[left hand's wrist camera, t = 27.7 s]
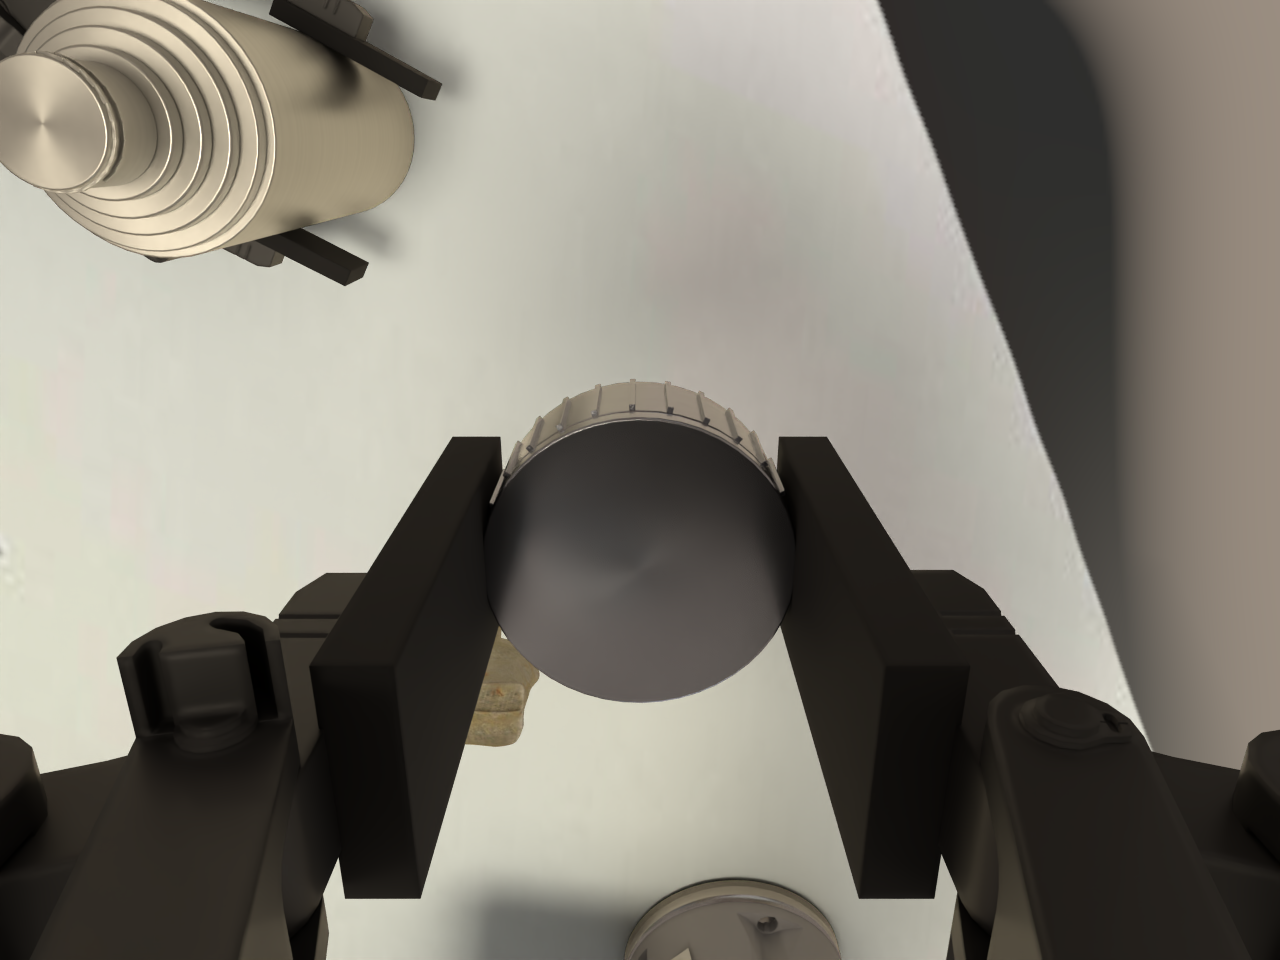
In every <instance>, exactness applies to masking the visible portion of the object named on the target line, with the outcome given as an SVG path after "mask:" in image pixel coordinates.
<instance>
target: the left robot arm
mask: <svg viewBox="0 0 1280 960" xmlns="http://www.w3.org/2000/svg"><path fill="white" fill-rule="evenodd" d="M777 472H778V474H779V477H780V479H781V482H782V484H783V487H784V489H785V491H786V494H787V495H785V496H783V498H784V500H785V503H786V505H787V508H788V510H789V513H790V516H791V519H792V522H793V525H794V529H795V534H796V554H795V568H794V582H793V595H792V601H791V604H790V606H789V608H788V611H787V613H786V615H785V618H784V620H783V621H782V623H781V625H780V626H781V630H782V633H783V637H784V640H785V644H786V647H787V651H788V654H789V657H790V661H791V664H792V668H793V671H794V675H795V678H796V682H797V685H798V689H799V692H800V696H801V699H802V703H803V706H804V710H805V713H806V716H807V720H808V723H809V727H810V730H811V734H812V737H813V741H814V744H815V748H816V751H817V755H818V758H819V762H820V765H821V769H822V772H823V775H824V779H825V782H826V786H827V789H828V793H829V796H830V800H831V803H832V807H833V810H834V814H835V817H836V821H837V824H838V828H839V831H840V834H841V838H842V841H843V845H844V848H845V852H846V855H847V859H848V862H849V866H850V869H851V873H852V876H853V880H854V883H855V887H856V890H857V894H858V897H859V899H934V897H935V891H936V885H937V878H938V872H939V865H940V859H941V854H942V856H943V859H944V861H945V863H946V866H947V868H948V871H949V873H950V875H951V878H952V880H953V882H954V885H955V887H956V890H957V898H956V904H955V910H954V916H953V922H952V928H951V934H950V940H949V946H948V952H947V958H946V960H1280V730H1276V731H1270V732H1263V733H1261V734H1259V735H1258V736H1257V737H1256V738H1254V739H1253V740H1252V741H1251V742H1249V743H1248V746H1247V750H1246V753H1245V756H1244V760H1243V763H1242V766H1241V770H1237V769H1232V768H1227V767H1221V766H1216V765H1211V764H1206V763H1201V762H1196V761H1191V760H1186V759H1181V758H1175V757H1171V756H1167V755H1163V754H1160V753H1156V752H1152V751H1151V750H1150V748H1149V746H1148V744H1147V742H1146V740H1145V738H1144V736H1143V735H1142V733H1141V732H1140V731H1139V730H1138V728H1137V727H1136V726H1135V725H1134V723H1133V722H1132V721H1131V720H1130V719H1129V718H1128V717H1126V716H1125V715H1123V714H1122V713H1120V712H1119V711H1117V710H1116V709H1114V708H1113V707H1111V706H1110V705H1109V704H1107V703H1105V702H1102V701H1100V700H1097V699H1095V698H1092V697H1090V696H1088V695H1085V694H1083V693H1080V692H1077V691H1072V690H1068V689H1063V688H1059V687H1058V685H1057V684H1056V683H1055V681H1054V680H1053V679H1052V677H1051V676H1050V675H1049V674H1048V672H1047V671H1046V670H1045V668H1044V667H1043V666H1042V664H1041V663H1040V662H1039V660H1038V659H1037V658H1036V657H1035V655H1034V654H1033V653H1032V651H1031V650H1030V649H1029V647H1028V646H1027V645H1026V643H1025V642H1024V641H1023V639H1022V638H1021V637H1020V636H1019V635H1015V629H1014V628H1013V626H1012V625H1011V624H1010V622H1009V621H1008V620H1007V619H1006V617H1005V616H1001V611H1000V609H999V608H998V607H997V605H996V604H995V603H994V602H993V600H992V599H991V598H990V596H989V595H988V594H987V592H986V591H985V590H984V589H983V588H981V587H980V586H978V585H977V584H975V583H973V582H972V581H970V580H969V579H967V578H965V577H964V576H962V575H960V574H959V573H957V572H956V571H954V570H910V569H909V567H908V566H907V564H906V562H905V561H904V559H903V558H902V556H901V554H900V553H899V551H898V550H897V548H896V546H895V545H894V543H893V542H892V540H891V538H890V537H889V535H888V534H887V532H886V530H885V529H884V527H883V526H882V524H881V523H880V521H879V519H878V518H877V516H876V515H875V513H874V511H873V510H872V508H871V507H870V505H869V503H868V502H867V500H866V499H865V497H864V495H863V494H862V492H861V491H860V489H859V487H858V486H857V484H856V483H855V481H854V479H853V478H852V476H851V475H850V473H849V471H848V470H847V468H846V467H845V465H844V464H843V462H842V460H841V459H840V457H839V456H838V454H837V452H836V451H835V449H834V448H833V446H832V444H831V443H830V441H829V440H828V438H827V437H779V445H778V462H777ZM501 473H502V455H501V438H500V437H452V439H451V440H450V442H449V443H448V445H447V447H446V448H445V450H444V451H443V453H442V455H441V456H440V458H439V459H438V461H437V463H436V464H435V466H434V467H433V469H432V471H431V472H430V474H429V475H428V477H427V478H426V480H425V482H424V483H423V485H422V486H421V488H420V490H419V491H418V493H417V494H416V496H415V498H414V499H413V501H412V502H411V504H410V506H409V507H408V509H407V510H406V512H405V514H404V515H403V517H402V518H401V520H400V522H399V523H398V525H397V526H396V528H395V529H394V531H393V533H392V534H391V536H390V537H389V539H388V541H387V542H386V544H385V545H384V547H383V549H382V550H381V552H380V553H379V555H378V557H377V558H376V560H375V561H374V563H373V565H372V566H371V568H370V569H369V571H368V573H326V574H324V575H322V576H321V577H319V578H318V579H316V580H314V581H313V582H311V583H310V584H308V585H306V586H305V587H303V588H302V589H300V590H298V591H297V592H296V593H295V594H294V595H293V597H292V598H291V599H290V600H289V602H288V603H287V604H286V606H285V607H284V608H283V610H282V611H281V612H280V614H279V619H275V620H274V622H272V621H271V620H269V619H268V618H267V617H265V616H261V615H256V614H252V613H248V612H213V613H207V614H202V615H197V616H191V617H186V618H183V619H180V620H177V621H174V622H171V623H169V624H166V625H163V626H160V627H157V628H155V629H153V630H152V631H150V632H148V633H146V634H145V635H143V636H141V637H139V638H138V639H136V640H134V641H132V642H131V643H130V644H129V645H128V646H127V647H126V648H125V649H124V651H123V652H122V653H121V654H120V655H119V656H118V657H117V662H118V666H119V670H120V674H121V678H122V682H123V686H124V690H125V695H126V699H127V703H128V707H129V711H130V715H131V719H132V723H133V727H134V731H135V735H136V739H135V741H134V743H133V745H132V747H131V749H130V752H129V754H128V756H124V757H120V758H116V759H112V760H109V761H104V762H99V763H94V764H89V765H84V766H79V767H74V768H69V769H63V770H58V771H53V772H48V773H43V774H40V772H39V769H38V766H37V762H36V759H35V756H34V752H33V749H32V747H31V746H30V745H28V744H27V743H26V742H25V741H23V740H22V739H21V738H20V737H16V736H10V735H3V734H0V960H326V954H327V945H328V937H329V930H328V923H327V916H326V910H325V904H324V898H323V893H324V890H325V888H326V886H327V883H328V881H329V878H330V876H331V874H332V871H333V869H334V867H335V864H336V862H337V859H338V857H339V863H340V869H341V876H342V882H343V888H344V895H345V899H420V898H421V895H422V891H423V888H424V884H425V881H426V878H427V874H428V871H429V867H430V864H431V860H432V857H433V853H434V850H435V846H436V843H437V839H438V836H439V832H440V829H441V825H442V822H443V819H444V815H445V812H446V808H447V805H448V801H449V798H450V794H451V791H452V787H453V784H454V780H455V777H456V773H457V770H458V767H459V763H460V760H461V756H462V753H463V749H464V746H465V742H466V739H467V735H468V732H469V728H470V725H471V721H472V718H473V714H474V711H475V708H476V704H477V701H478V697H479V694H480V690H481V687H482V683H483V680H484V676H485V673H486V669H487V666H488V662H489V659H490V655H491V652H492V649H493V645H494V642H495V638H496V635H497V631H498V628H499V625H498V623H497V621H496V619H495V617H494V615H493V613H492V610H491V608H490V606H489V603H488V599H487V591H486V577H485V562H484V547H483V533H484V530H485V526H486V523H487V519H488V516H489V513H490V511H491V508H488V504H489V502H490V499H491V497H492V494H493V492H494V490H495V487H496V485H497V482H498V480H499V478H500V475H501ZM624 960H842V959H841V955H840V951H839V947H838V943H837V939H836V937H835V934H834V931H833V930H832V928H831V926H830V924H829V923H828V921H827V920H826V918H825V917H824V916H823V915H822V914H821V912H820V911H819V910H817V909H816V908H815V907H814V906H813V905H812V904H811V903H809V902H808V901H806V900H805V899H803V898H802V897H800V896H798V895H797V894H795V893H792V892H790V891H788V890H786V889H783V888H780V887H778V886H774V885H771V884H767V883H761V882H756V881H747V880H724V881H716V882H710V883H704V884H700V885H697V886H693V887H690V888H687V889H685V890H682V891H680V892H678V893H675V894H673V895H671V896H670V897H668V898H666V899H664V900H663V901H661V902H660V903H658V904H657V905H656V906H654V907H653V908H652V909H651V910H650V911H648V912H647V913H646V915H645V916H644V917H643V918H642V919H641V920H640V921H639V923H638V924H637V925H636V927H635V928H634V930H633V932H632V934H631V936H630V938H629V940H628V943H627V946H626V950H625V957H624Z"/></svg>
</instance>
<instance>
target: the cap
mask: <svg viewBox="0 0 1280 960" xmlns="http://www.w3.org/2000/svg"><path fill="white" fill-rule="evenodd" d="M785 495H787V494H786V491H785V489H784V487H783V484H782V482H781V479H780V477H779V474H778V472H777V470H776V467H775V465H774V462H773V460H772V458H769V459H767V457H766V455H765V453H764V451H763V449H762V446H761V444H760V441H759V439H758V436H757V434H756V433H755V431H752V432H750V431H749V430H748V429H747V428H746V427H745V426H744V425H743V423H742V422H741V421H740V420H738V419H737V418H736V417H735V415H734V412H733V410H732V409H730V408H728V409H727V410H726V409H725V408H723V407H722V406H720V405H719V404H717V403H715V402H714V401H712V400H711V399H708V398H706V397H705V396H704V393H703V392H701V391H699V392H698V393H695V392H693V391H690V390H687V389H684V388H680V387H677V386H673V385H671V382H668V381H665V384H662V383H654V382H636V379H630V382H627V383H617V384H612V385H607V386H602V387H601V384H598V385H595V389H592V390H590V391H587V392H584V393H581V394H579V395H577V396H575V397H573V398H571V399H569V397H566V398H564V399H563V402H562V404H561V405H559V406H558V407H556V408H555V409H553V410H552V411H550V412H549V413H548V414H547V415H545V416H544V417H543V418H542V417H541V416H539V417H538V418H537V419H536V421H535V424H534V426H533V428H532V429H531V430H530V432H529V433H528V434H527V435H526V436H525V437H524V439H523V440H522V442H520V441H517V443H516V444H515V446H514V449H513V451H512V454H511V456H510V459H509V461H508V463H507V466H506V468H505V469H503V470H502V473H501V475H500V478H499V480H498V482H497V485H496V487H495V490H494V492H493V494H492V497H491V499H490V502H489V504H488V508H491V511H490V513H489V516H488V519H487V523H486V526H485V530H484V533H483V547H484V562H485V577H486V591H487V599H488V603H489V606H490V608H491V610H492V613H493V615H494V617H495V619H496V621H497V623H498V625H499V626H500V628H501V630H502V631H503V633H504V634H505V636H506V637H507V639H508V640H509V641H510V643H511V644H512V645H513V646H514V647H515V648H516V650H517V651H518V652H519V653H520V654H521V655H522V656H523V657H524V658H525V659H526V660H527V661H529V662H530V663H531V664H532V665H533V666H534V667H535V668H537V669H538V670H540V671H541V672H542V673H544V674H545V675H547V676H548V677H550V678H551V679H553V680H555V681H557V682H559V683H561V684H562V685H564V686H566V687H568V688H571V689H573V690H576V691H578V692H581V693H584V694H587V695H590V696H594V697H598V698H601V699H606V700H613V701H619V702H635V703H646V702H661V701H667V700H672V699H678V698H682V697H685V696H689V695H692V694H695V693H699V692H701V691H703V690H706V689H708V688H710V687H713V686H715V685H717V684H719V683H721V682H722V681H724V680H726V679H728V678H729V677H731V676H733V675H734V674H735V673H737V672H738V671H739V670H741V669H742V668H744V667H745V666H746V665H748V664H749V663H750V662H751V661H752V660H753V659H754V658H755V657H756V656H757V655H758V654H759V653H760V652H761V651H762V650H763V649H764V648H765V646H766V645H767V644H768V643H769V641H770V640H771V639H772V638H773V636H774V635H775V633H776V631H777V630H778V628H779V626H780V625H781V623H782V621H783V620H784V618H785V615H786V613H787V611H788V608H789V606H790V604H791V601H792V595H793V582H794V568H795V554H796V534H795V529H794V525H793V522H792V519H791V516H790V513H789V510H788V508H787V505H786V503H785V500H784V498H783V496H785Z"/></svg>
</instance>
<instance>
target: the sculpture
mask: <svg viewBox="0 0 1280 960" xmlns="http://www.w3.org/2000/svg"><path fill="white" fill-rule="evenodd" d="M538 679H539V670H538V669H537V668H535V667H534V666H533V665H532V664H531V663H530V662H529V661H527V660H526V659H525V658H524V657H523V656H522V655H521V654H520V653H519V652H518V651H517V650H516V648H515V647H514V646H513V645H512V644H511V643H510V641H509V640H507V639H503V638H501V628H500V626H499V628H498V631H497V635H496V638H495V642H494V645H493V649H492V652H491V655H490V659H489V662H488V666H487V669H486V673H485V676H484V680H483V683H482V687H481V690H480V694H479V697H478V701H477V704H476V708H475V711H474V714H473V718H472V721H471V725H470V728H469V732H468V735H467V739H466V742H465V744H471V745H483V746H493V747H498V746H506V745H510V744H513V743H515V742H516V741H517V739H518V738H519V736H520V734H521V732H522V729H523V725H524V722H523V715H524V708H525V705H526V702H527V699H528V696H529V692H530V689H531V688H532V686H533V685H534V684H535V683H536V682H537V681H538Z"/></svg>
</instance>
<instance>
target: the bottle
mask: <svg viewBox="0 0 1280 960" xmlns="http://www.w3.org/2000/svg"><path fill="white" fill-rule="evenodd" d="M413 150H414V128H413V122H412V117H411V114H410V110H409V107H408V104H407V102H406V100H405V97H404V95H403V93H402V92H401V90H400V88H399V87H398V85H397V84H395V83H393V82H392V81H390V80H388V79H386V78H384V77H382V76H381V75H379V74H377V73H375V72H373V71H371V70H370V69H368V68H366V67H364V66H362V65H361V64H359V63H357V62H355V61H353V60H351V59H350V58H348V57H346V56H344V55H342V54H340V53H339V52H337V51H335V50H333V49H331V48H330V47H328V46H326V45H324V44H322V43H320V42H319V41H317V40H315V39H313V38H311V37H310V36H308V35H306V34H304V33H302V32H300V31H297V30H294V29H291V28H288V27H285V26H282V25H278V24H275V23H272V22H269V21H266V20H263V19H260V18H256V17H253V16H250V15H247V14H244V13H241V12H238V11H234V10H231V9H228V8H225V7H222V6H219V5H215V4H212V3H209V2H206V1H203V0H56V1H55V2H54V3H52V4H51V5H50V6H49V7H48V8H47V9H46V10H44V11H43V12H42V13H41V14H40V15H39V16H38V17H37V18H36V19H35V20H34V21H33V23H32V24H31V26H30V27H29V28H28V30H27V31H26V33H25V34H24V36H23V38H22V40H21V42H20V44H19V46H18V48H17V51H16V54H15V55H12V56H9V57H7V58H5V59H3V60H1V61H0V162H1V163H2V164H3V165H4V166H5V167H6V168H7V169H8V170H9V171H10V172H11V173H13V174H14V175H16V176H17V177H18V178H20V179H22V180H23V181H25V182H27V183H29V184H31V185H33V186H34V187H37V188H40V189H43V190H44V191H45V192H46V193H47V195H48V196H49V197H50V198H51V199H52V200H53V201H54V202H55V203H56V204H57V206H58V207H59V208H60V209H62V210H63V211H64V212H65V213H66V214H67V215H68V216H69V217H71V218H72V219H73V220H74V221H76V222H77V223H79V224H80V225H81V226H83V227H84V228H86V229H87V230H89V231H90V232H92V233H93V234H95V235H96V236H98V237H100V238H102V239H103V240H105V241H107V242H109V243H111V244H113V245H115V246H118V247H120V248H122V249H125V250H127V251H131V252H134V253H138V254H141V255H146V256H152V257H158V258H182V257H191V256H195V255H199V254H203V253H207V252H211V251H214V250H218V249H222V248H226V247H230V246H233V245H237V244H241V243H245V242H249V241H253V240H256V239H260V238H264V237H268V236H272V235H276V234H279V233H283V232H287V231H291V230H295V229H299V228H302V227H306V226H310V225H314V224H318V223H321V222H325V221H329V220H333V219H337V218H341V217H344V216H348V215H352V214H356V213H360V212H364V211H367V210H369V209H372V208H374V207H376V206H378V205H379V204H381V203H383V202H384V201H385V200H387V199H388V198H389V197H390V196H391V195H392V194H393V193H394V192H395V191H396V190H397V189H398V187H399V186H400V185H401V183H402V182H403V180H404V178H405V176H406V174H407V172H408V170H409V167H410V164H411V161H412V155H413Z"/></svg>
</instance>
